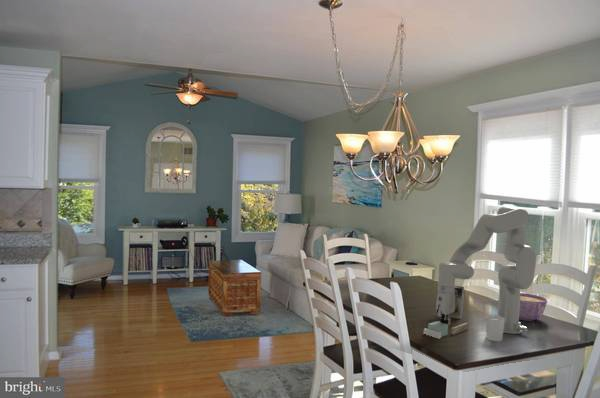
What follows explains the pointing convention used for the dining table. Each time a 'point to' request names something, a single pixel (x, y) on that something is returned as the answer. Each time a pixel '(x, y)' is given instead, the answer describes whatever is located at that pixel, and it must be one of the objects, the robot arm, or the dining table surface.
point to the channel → (458, 327)
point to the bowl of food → (531, 306)
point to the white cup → (494, 327)
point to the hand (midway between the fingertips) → (443, 327)
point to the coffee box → (458, 302)
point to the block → (439, 327)
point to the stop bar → (432, 333)
